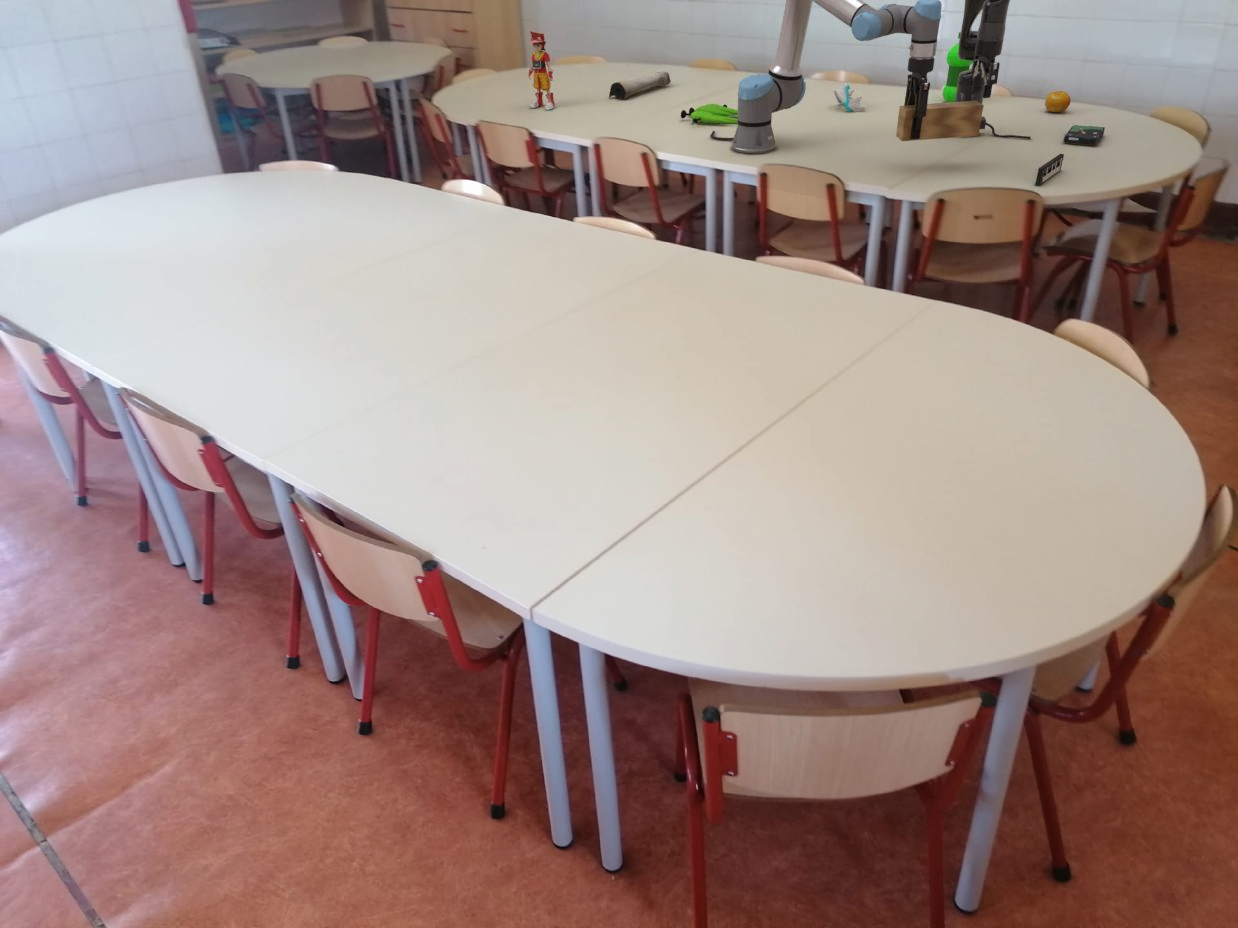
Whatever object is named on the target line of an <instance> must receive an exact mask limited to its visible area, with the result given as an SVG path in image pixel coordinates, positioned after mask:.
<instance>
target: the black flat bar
mask: <svg viewBox="0 0 1238 928" xmlns="http://www.w3.org/2000/svg"><path fill="white" fill-rule="evenodd" d="M1064 157H1065V153H1059V154H1058V155H1056V156H1055V157H1052V159H1051V160H1049V161H1047V162H1045V164H1042V165H1041V166H1039V167H1038V169H1037V175H1036V179H1035V186H1040V185H1042V183H1044V182H1045V181H1047V180H1048V179H1049V178H1051V177H1052V176H1054V175H1055V174H1056V173H1058V172H1060V171H1061V170H1062V165H1063V161H1064Z"/></svg>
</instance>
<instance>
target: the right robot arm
mask: <svg viewBox="0 0 1238 928" xmlns="http://www.w3.org/2000/svg"><path fill="white" fill-rule="evenodd" d="M1010 2H1011V0H964V9H963V17H962V23H961V28H960V32H961V34H960V40H959V39H958V43H959V46H958V57H959V59H960V60H965V61H973V63H972V64H971V65H972V66H971V68H969V70H966V71H963V72H961V73H960V74H959V77H958V83H957V90H956V96H955V102H963V101H978V102H979V103H981V104H983V102H984V99H990V98H991V96H992V90H993V86H994V85H996V84H998V79H999V72H1000V66H1001V65H1000V62H996V57H997V56H1000V55H1001V54H1002V49H1003V44H1004V39H1005V33H1006V23H1007V22H1006V21H1007V18H1008V17H1007V16H1008V10H1009V6H1010ZM980 14H981V16H980V22H979V26H978V30H972V28H973V25H974V23H975V21H976V20H977V18H978V17H979V15H980ZM986 127H989V128H990V129H991V134H992V135H993V136H994V137H995V138H996V137H998V138H1015V139H1025V140H1031V138H1032V137H1031V136H1029V135H1028V136H1026V135H1015V134H1002V135H1000V134H997V133H995V128H994V126H993V125H992V124H990V123H988V122H987V119H986V117H985V116H982V118H981V124H980V130H985V129H986Z"/></svg>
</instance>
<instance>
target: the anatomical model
mask: <svg viewBox="0 0 1238 928" xmlns="http://www.w3.org/2000/svg"><path fill="white" fill-rule="evenodd" d="M850 89H851V87H850V84H848V83H847V82H844V81H843V82H842V84H841V85H840V86H839V87H836V88H834V90H833V94H834V96H835V98H836V100H837V102H838V104H841V105H843V106H844V108H845V110H846V111H847V112H849V113H850V112H854V111H859V110H860V111H863V110H864V111H865V109H866V108H867V106H866V105H861V104H860V101H861V100H862V99H863V96H862V95H860V96H857V97H855V98H853V97H852V95H853V93H854V92H855V89H854V90H851V91H849V90H850Z"/></svg>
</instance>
